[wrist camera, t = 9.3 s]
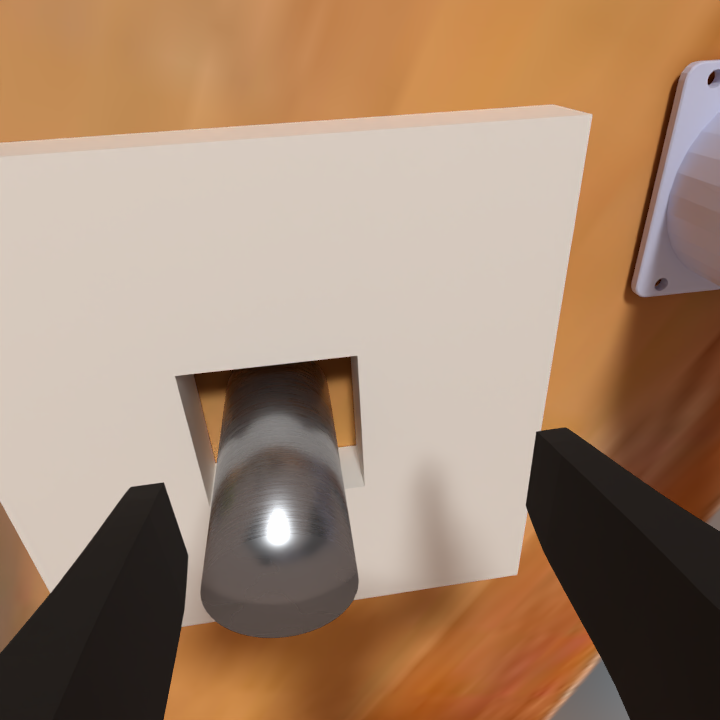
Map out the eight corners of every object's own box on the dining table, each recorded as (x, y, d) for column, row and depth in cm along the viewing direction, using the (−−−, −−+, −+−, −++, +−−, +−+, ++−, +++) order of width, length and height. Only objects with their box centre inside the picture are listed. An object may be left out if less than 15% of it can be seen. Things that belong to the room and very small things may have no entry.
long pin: (326, 345, 21) (358, 527, 13) (329, 429, 23) (358, 627, 15) (220, 353, 20) (187, 545, 13) (232, 437, 22) (212, 646, 15)
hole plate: (552, 104, 17) (592, 114, 15) (498, 533, 28) (517, 574, 26) (-119, 151, 15) (-181, 169, 13) (93, 593, 26) (77, 643, 24)
